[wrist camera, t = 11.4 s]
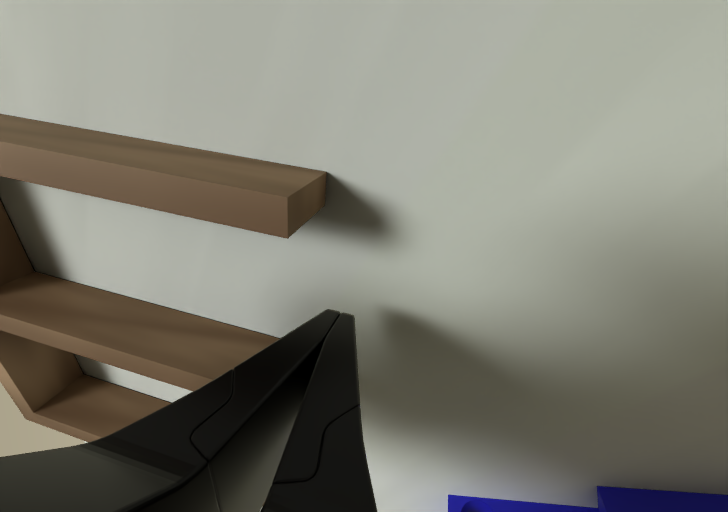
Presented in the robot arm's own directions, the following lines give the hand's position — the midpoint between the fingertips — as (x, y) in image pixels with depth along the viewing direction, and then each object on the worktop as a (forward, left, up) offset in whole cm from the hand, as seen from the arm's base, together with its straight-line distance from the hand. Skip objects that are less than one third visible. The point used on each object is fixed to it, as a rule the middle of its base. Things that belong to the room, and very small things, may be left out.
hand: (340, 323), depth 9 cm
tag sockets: (+3, -9, -2) cm, 9 cm away
